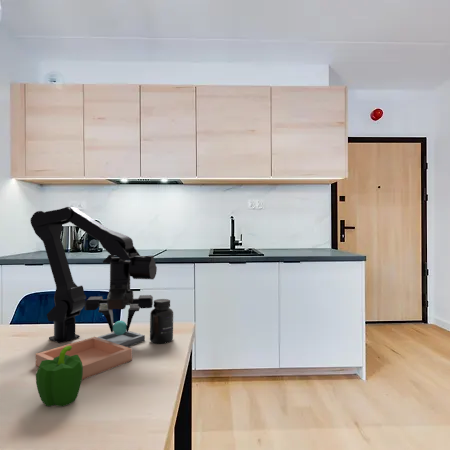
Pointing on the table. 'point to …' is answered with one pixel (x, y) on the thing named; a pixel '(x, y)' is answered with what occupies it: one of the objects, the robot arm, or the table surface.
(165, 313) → the supplement bottle
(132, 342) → the tray
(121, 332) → the ball
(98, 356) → the dish
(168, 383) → the table surface
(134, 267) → the robot arm
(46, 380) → the bell pepper
